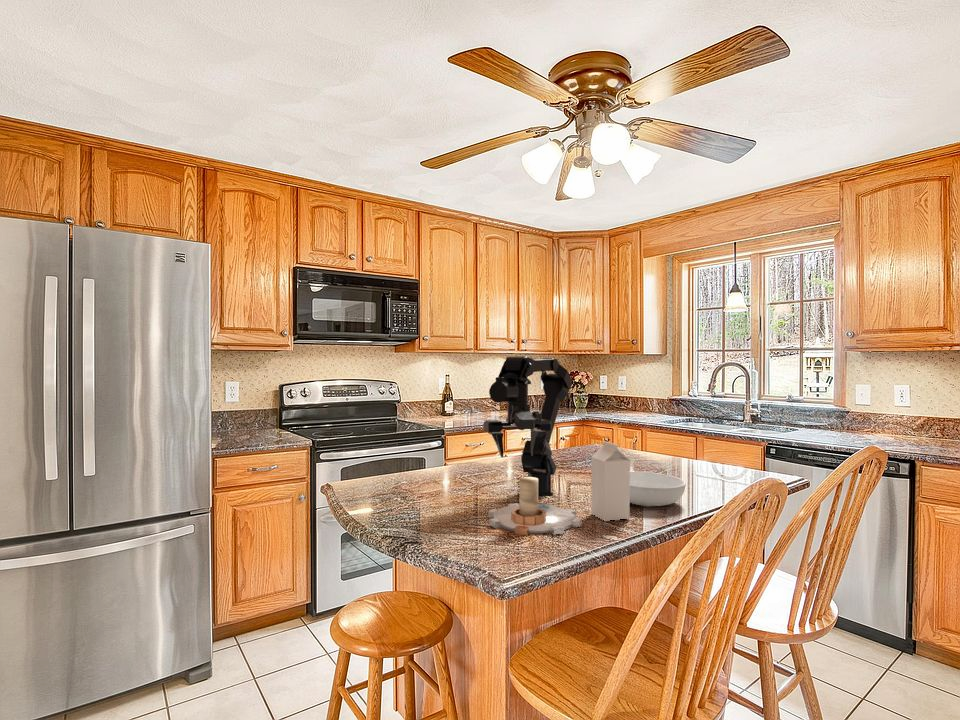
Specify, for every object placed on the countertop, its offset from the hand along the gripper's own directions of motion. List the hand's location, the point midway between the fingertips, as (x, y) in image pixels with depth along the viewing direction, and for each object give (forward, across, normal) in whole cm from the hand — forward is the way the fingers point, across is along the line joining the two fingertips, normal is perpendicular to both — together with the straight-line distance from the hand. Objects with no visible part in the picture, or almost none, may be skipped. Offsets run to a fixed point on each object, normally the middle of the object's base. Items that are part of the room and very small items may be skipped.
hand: (517, 456), depth 153 cm
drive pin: (+12, -5, -22) cm, 25 cm away
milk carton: (+13, +18, -20) cm, 30 cm away
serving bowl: (+13, +35, -10) cm, 39 cm away
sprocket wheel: (+13, -2, -18) cm, 22 cm away
